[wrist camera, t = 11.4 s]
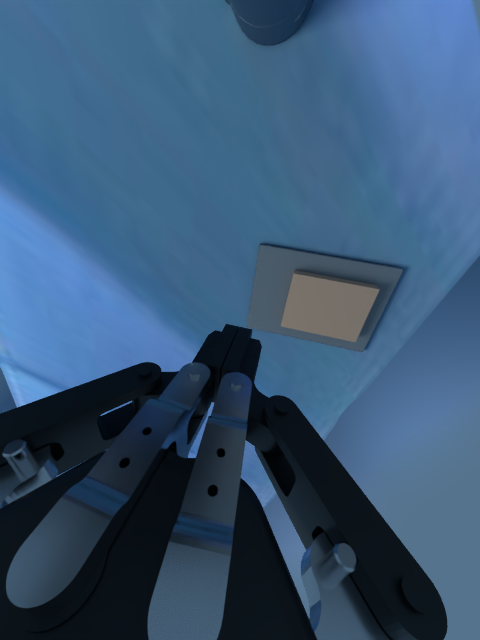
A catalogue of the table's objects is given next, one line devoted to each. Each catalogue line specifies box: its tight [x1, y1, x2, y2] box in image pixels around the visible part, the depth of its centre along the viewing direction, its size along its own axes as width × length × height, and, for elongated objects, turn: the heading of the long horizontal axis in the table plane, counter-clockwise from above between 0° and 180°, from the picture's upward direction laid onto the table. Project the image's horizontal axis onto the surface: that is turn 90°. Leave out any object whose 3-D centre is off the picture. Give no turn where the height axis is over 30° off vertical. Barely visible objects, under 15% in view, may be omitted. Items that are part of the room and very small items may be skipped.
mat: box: [247, 244, 404, 352], centre depth 42 cm, size 22×16×1 cm
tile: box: [281, 270, 380, 342], centre depth 40 cm, size 2×10×13 cm
